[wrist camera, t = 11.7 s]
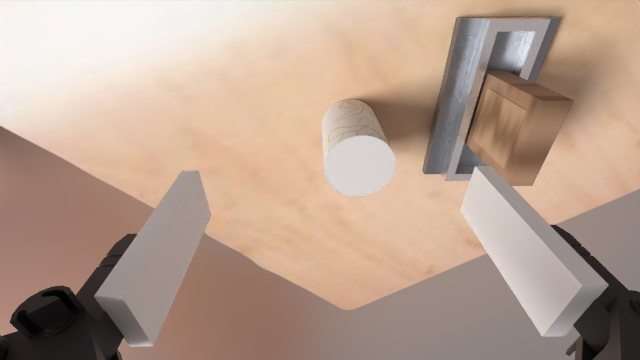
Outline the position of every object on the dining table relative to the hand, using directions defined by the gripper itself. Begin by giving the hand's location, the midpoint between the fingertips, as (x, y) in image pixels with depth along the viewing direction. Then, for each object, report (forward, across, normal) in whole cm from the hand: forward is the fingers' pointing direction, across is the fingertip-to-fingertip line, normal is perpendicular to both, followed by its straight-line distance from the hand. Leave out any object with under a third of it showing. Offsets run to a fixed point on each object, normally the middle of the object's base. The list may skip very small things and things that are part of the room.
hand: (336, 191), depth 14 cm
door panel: (+28, +22, -6) cm, 36 cm away
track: (+29, +22, -6) cm, 37 cm away
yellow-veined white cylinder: (+29, +4, -9) cm, 31 cm away
